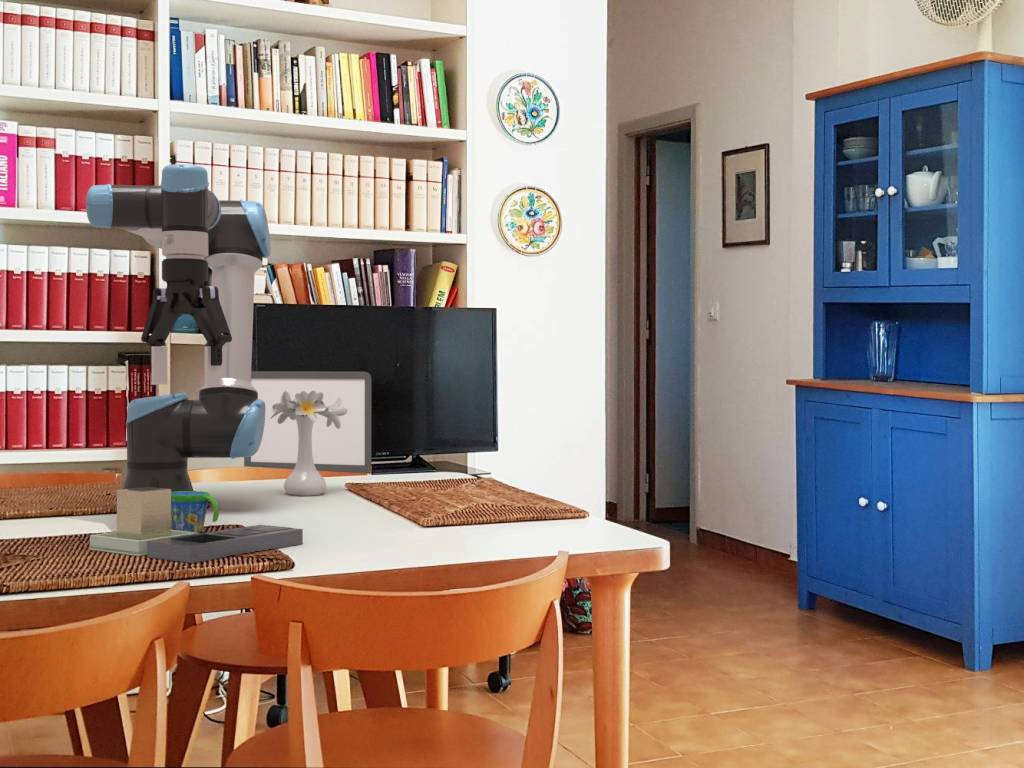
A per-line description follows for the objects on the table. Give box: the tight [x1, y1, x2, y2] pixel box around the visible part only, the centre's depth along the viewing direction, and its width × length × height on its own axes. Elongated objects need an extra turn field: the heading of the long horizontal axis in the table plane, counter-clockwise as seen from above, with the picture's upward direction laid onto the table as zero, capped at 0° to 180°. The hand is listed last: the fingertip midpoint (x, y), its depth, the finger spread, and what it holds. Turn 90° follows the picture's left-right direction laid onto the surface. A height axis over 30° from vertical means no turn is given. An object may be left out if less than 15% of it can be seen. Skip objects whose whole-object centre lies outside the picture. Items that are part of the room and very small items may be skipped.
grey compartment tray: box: [146, 524, 304, 564], centre depth 190 cm, size 10×24×3 cm, turn 146°
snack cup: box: [171, 490, 220, 533], centre depth 208 cm, size 11×8×7 cm
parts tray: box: [89, 530, 198, 557], centre depth 192 cm, size 12×12×2 cm
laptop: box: [243, 370, 372, 475], centre depth 298 cm, size 38×29×29 cm
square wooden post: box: [116, 487, 171, 541], centre depth 192 cm, size 6×6×9 cm
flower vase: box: [269, 390, 348, 497], centre depth 264 cm, size 13×18×25 cm
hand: (185, 385), depth 197 cm, fingers open, 13 cm apart
